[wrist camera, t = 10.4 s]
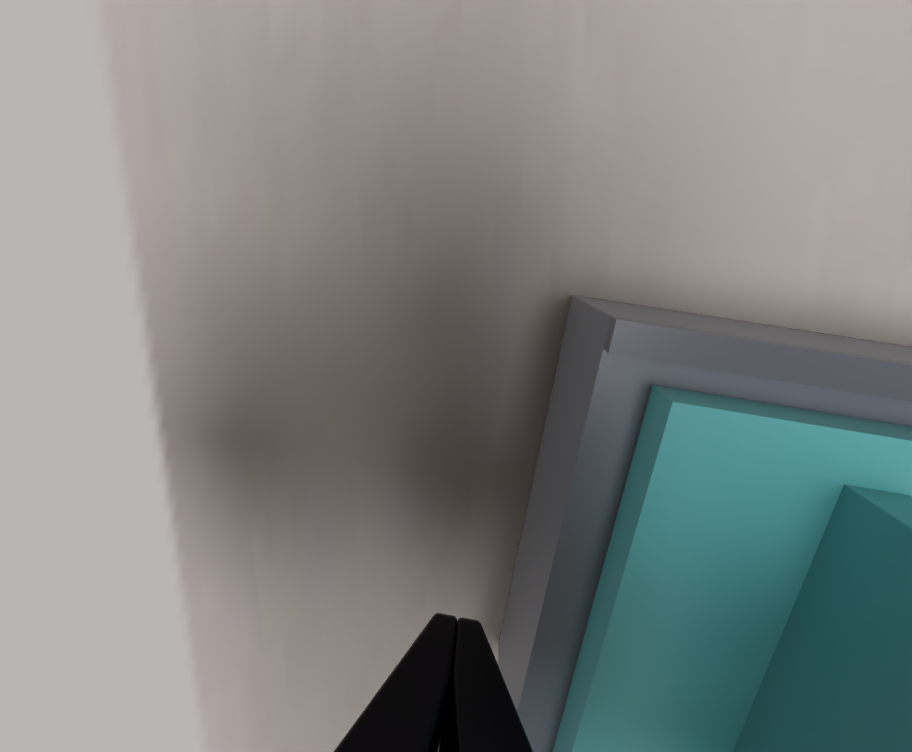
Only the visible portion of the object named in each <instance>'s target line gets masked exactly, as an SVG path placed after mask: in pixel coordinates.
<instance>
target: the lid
mask: <svg viewBox="0 0 912 752" xmlns="http://www.w3.org/2000/svg"><path fill="white" fill-rule="evenodd" d="M553 752H912V427H910V426H904V425H898V424H892V423H886V422H879V421H873V420H867V419H861V418H855V417H849V416H842V415H836V414H830V413H824V412H818V411H811V410H805V409H799V408H793V407H787V406H781V405H774V404H768V403H762V402H756V401H750V400H743V399H737V398H731V397H725V396H719V395H713V394H706V393H700V392H694V391H688V390H682V389H675V388H669V387H663V386H657V385H652V389H651V392H650V396H649V400H648V403H647V407H646V411H645V414H644V418H643V422H642V425H641V429H640V433H639V436H638V440H637V444H636V447H635V451H634V455H633V458H632V462H631V466H630V469H629V473H628V477H627V480H626V484H625V488H624V491H623V495H622V499H621V502H620V506H619V510H618V513H617V517H616V521H615V524H614V528H613V532H612V535H611V539H610V543H609V546H608V550H607V554H606V557H605V561H604V565H603V568H602V572H601V576H600V579H599V583H598V587H597V590H596V594H595V598H594V601H593V605H592V609H591V612H590V616H589V620H588V623H587V627H586V631H585V634H584V638H583V642H582V645H581V649H580V653H579V656H578V660H577V664H576V667H575V671H574V675H573V678H572V682H571V686H570V689H569V693H568V697H567V700H566V704H565V708H564V711H563V715H562V719H561V722H560V726H559V730H558V733H557V737H556V741H555V744H554V748H553Z"/></svg>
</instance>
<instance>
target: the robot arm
mask: <svg viewBox="0 0 912 752" xmlns="http://www.w3.org/2000/svg"><path fill="white" fill-rule="evenodd" d="M438 747H439V750H438ZM334 752H533V750H532V747H531V745H530V742H529V740H528V737H527V735H526V732H525V730H524V728H523V725H522V723H521V720H520V718H519V715H518V713H517V710H516V708H515V706H514V703H513V701H512V698H511V696H510V693H509V691H508V688H507V686H506V684H505V681H504V679H503V676H502V674H501V671H500V669H499V666H498V664H497V662H496V659H495V657H494V654H493V652H492V649H491V647H490V644H489V642H488V639H487V637H486V635H485V632H484V630H483V627H482V625H481V623H480V622H479V621H477V620H472V619H467V618H459V619H458V621H457V619H456V617H455V616H451V615H446V614H441V613H437V614H435V615H434V616H433V617H432V618H431V620H430V621H429V622H428V624H427V625H426V627H425V628H424V629H423V631H422V632H421V633H420V635H419V636H418V637H417V639H416V640H415V642H414V643H413V644H412V646H411V647H410V648H409V650H408V651H407V652H406V654H405V655H404V657H403V658H402V659H401V661H400V662H399V663H398V665H397V666H396V667H395V669H394V670H393V672H392V673H391V674H390V676H389V677H388V678H387V680H386V681H385V682H384V684H383V685H382V687H381V688H380V689H379V691H378V692H377V693H376V695H375V696H374V697H373V699H372V700H371V702H370V703H369V704H368V706H367V707H366V708H365V710H364V711H363V712H362V714H361V715H360V717H359V718H358V719H357V721H356V722H355V723H354V725H353V726H352V727H351V729H350V730H349V732H348V733H347V734H346V736H345V737H344V738H343V740H342V741H341V742H340V744H339V745H338V747H337V748H336V749H335V751H334Z"/></svg>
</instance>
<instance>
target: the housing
mask: <svg viewBox="0 0 912 752" xmlns="http://www.w3.org/2000/svg"><path fill="white" fill-rule="evenodd" d="M652 385H657V386H663V387H669V388H675V389H682V390H688V391H694V392H700V393H706V394H713V395H719V396H725V397H731V398H737V399H743V400H750V401H756V402H762V403H768V404H774V405H781V406H787V407H793V408H799V409H805V410H811V411H818V412H824V413H830V414H836V415H842V416H849V417H855V418H861V419H867V420H873V421H879V422H886V423H892V424H898V425H904V426H910V427H912V347H908V346H901V345H895V344H888V343H882V342H875V341H869V340H862V339H855V338H849V337H842V336H836V335H829V334H823V333H816V332H810V331H803V330H797V329H790V328H783V327H777V326H770V325H764V324H757V323H751V322H744V321H738V320H731V319H725V318H718V317H711V316H705V315H698V314H692V313H685V312H679V311H672V310H666V309H659V308H653V307H646V306H639V305H633V304H626V303H620V302H613V301H607V300H600V299H594V298H587V297H581V296H574V295H572V298H571V303H570V307H569V312H568V317H567V322H566V326H565V331H564V336H563V341H562V345H561V350H560V355H559V360H558V364H557V369H556V374H555V379H554V383H553V388H552V393H551V397H550V402H549V407H548V412H547V416H546V421H545V426H544V431H543V435H542V440H541V445H540V450H539V454H538V459H537V464H536V469H535V473H534V478H533V483H532V488H531V492H530V497H529V502H528V507H527V511H526V516H525V521H524V526H523V530H522V535H521V540H520V545H519V549H518V554H517V559H516V563H515V568H514V573H513V578H512V582H511V587H510V592H509V597H508V601H507V606H506V611H505V616H504V620H503V625H502V630H501V635H500V639H499V669H500V671H501V674H502V676H503V679H504V681H505V684H506V686H507V688H508V691H509V693H510V696H511V698H512V701H513V703H514V706H515V708H516V710H517V713H518V715H519V718H520V720H521V723H522V725H523V728H524V730H525V732H526V735H527V737H528V740H529V742H530V745H531V747H532V750H533V752H553V748H554V744H555V741H556V737H557V733H558V730H559V726H560V722H561V719H562V715H563V711H564V708H565V704H566V700H567V697H568V693H569V689H570V686H571V682H572V678H573V675H574V671H575V667H576V664H577V660H578V656H579V653H580V649H581V645H582V642H583V638H584V634H585V631H586V627H587V623H588V620H589V616H590V612H591V609H592V605H593V601H594V598H595V594H596V590H597V587H598V583H599V579H600V576H601V572H602V568H603V565H604V561H605V557H606V554H607V550H608V546H609V543H610V539H611V535H612V532H613V528H614V524H615V521H616V517H617V513H618V510H619V506H620V502H621V499H622V495H623V491H624V488H625V484H626V480H627V477H628V473H629V469H630V466H631V462H632V458H633V455H634V451H635V447H636V444H637V440H638V436H639V433H640V429H641V425H642V422H643V418H644V414H645V411H646V407H647V403H648V400H649V396H650V392H651V389H652Z"/></svg>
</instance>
